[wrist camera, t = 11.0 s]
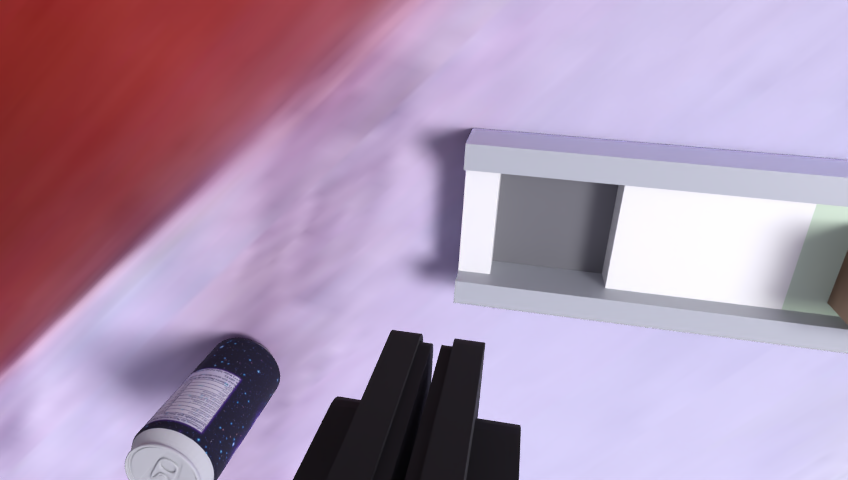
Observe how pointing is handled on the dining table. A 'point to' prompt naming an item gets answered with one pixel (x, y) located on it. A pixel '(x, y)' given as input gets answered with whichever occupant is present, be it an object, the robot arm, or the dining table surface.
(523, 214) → the trap track
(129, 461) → the beverage can
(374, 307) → the dining table surface
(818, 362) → the dining table surface
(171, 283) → the dining table surface
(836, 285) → the walnut block
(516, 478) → the robot arm
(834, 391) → the dining table surface
